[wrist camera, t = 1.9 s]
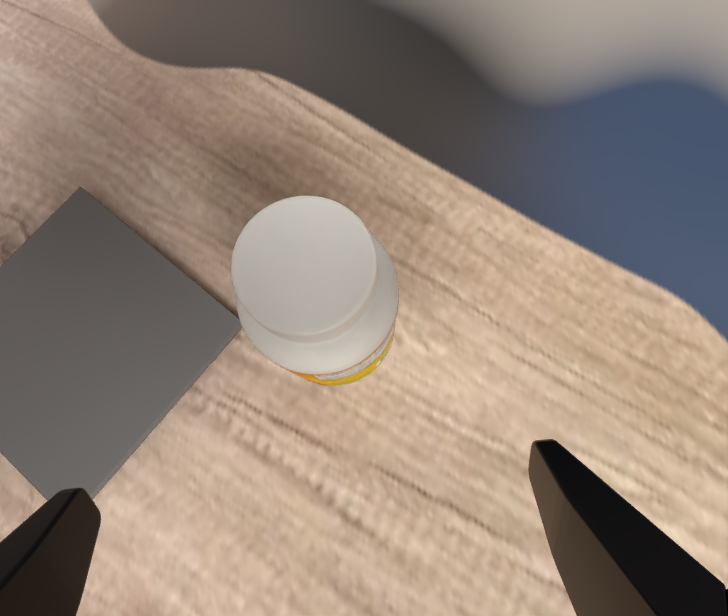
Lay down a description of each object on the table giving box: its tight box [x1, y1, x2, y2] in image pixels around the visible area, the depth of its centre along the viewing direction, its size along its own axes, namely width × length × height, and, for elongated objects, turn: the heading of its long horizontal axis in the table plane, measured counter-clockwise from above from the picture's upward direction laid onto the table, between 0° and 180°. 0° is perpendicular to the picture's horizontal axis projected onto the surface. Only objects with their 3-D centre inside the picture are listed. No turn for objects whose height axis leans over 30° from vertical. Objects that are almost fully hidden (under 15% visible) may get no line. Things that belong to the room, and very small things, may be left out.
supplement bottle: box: [231, 195, 399, 386], centre depth 17 cm, size 5×5×10 cm
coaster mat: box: [0, 187, 242, 500], centre depth 22 cm, size 11×11×1 cm
